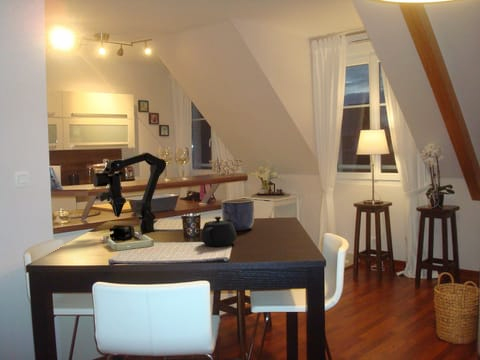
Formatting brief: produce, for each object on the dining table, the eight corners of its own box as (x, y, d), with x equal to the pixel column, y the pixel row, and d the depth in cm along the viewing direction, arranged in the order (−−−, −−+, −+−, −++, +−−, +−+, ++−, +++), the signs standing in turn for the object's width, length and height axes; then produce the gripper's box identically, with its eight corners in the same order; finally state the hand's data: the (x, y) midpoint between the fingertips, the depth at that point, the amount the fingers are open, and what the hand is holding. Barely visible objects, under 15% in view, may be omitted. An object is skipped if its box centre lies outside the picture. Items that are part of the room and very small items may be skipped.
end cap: (135, 238, 232) (134, 224, 231) (126, 241, 225) (125, 227, 225) (118, 237, 236) (117, 224, 235) (109, 240, 229) (108, 226, 228)
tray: (144, 240, 225) (144, 234, 225) (153, 245, 211) (153, 239, 211) (107, 244, 218) (107, 239, 218) (114, 250, 204) (114, 244, 204)
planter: (217, 231, 240) (215, 202, 239) (230, 226, 256) (229, 198, 255) (247, 232, 234) (246, 202, 233) (259, 227, 250) (258, 198, 249)
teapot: (223, 251, 194) (222, 221, 194) (190, 249, 201) (188, 220, 200) (247, 239, 217) (246, 212, 216) (216, 238, 224) (215, 212, 223)
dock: (136, 235, 238) (136, 229, 238) (141, 238, 229) (141, 232, 229) (103, 239, 231) (102, 233, 231) (106, 243, 222) (106, 236, 222)
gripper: (95, 185, 243) (97, 216, 244) (101, 187, 226) (103, 220, 227) (117, 184, 247) (119, 213, 248) (125, 185, 231) (127, 218, 232)
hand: (117, 216), depth 239 cm, fingers open, 5 cm apart
